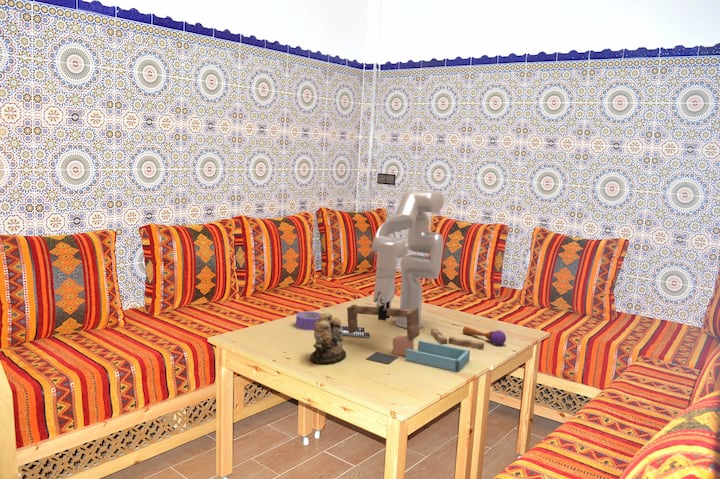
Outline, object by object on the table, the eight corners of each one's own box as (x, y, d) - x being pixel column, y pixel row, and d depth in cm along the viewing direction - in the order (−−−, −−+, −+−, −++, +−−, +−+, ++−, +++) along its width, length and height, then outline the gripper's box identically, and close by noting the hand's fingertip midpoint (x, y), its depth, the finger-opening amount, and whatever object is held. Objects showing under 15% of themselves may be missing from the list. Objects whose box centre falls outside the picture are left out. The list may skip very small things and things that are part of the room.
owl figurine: (331, 368, 201) (333, 321, 199) (301, 362, 206) (302, 316, 203) (352, 353, 218) (354, 309, 215) (324, 348, 222) (325, 305, 220)
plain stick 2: (448, 344, 235) (448, 338, 235) (449, 342, 237) (450, 336, 237) (482, 350, 229) (482, 344, 229) (483, 348, 232) (484, 342, 231)
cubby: (405, 360, 213) (406, 349, 213) (418, 350, 225) (419, 340, 224) (458, 372, 204) (459, 361, 204) (469, 360, 216) (470, 350, 215)
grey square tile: (365, 359, 212) (366, 358, 212) (376, 352, 220) (376, 351, 220) (388, 364, 208) (388, 363, 208) (398, 357, 216) (398, 356, 216)
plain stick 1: (446, 345, 234) (447, 339, 233) (441, 345, 233) (441, 339, 233) (436, 334, 247) (436, 328, 247) (430, 334, 247) (431, 328, 246)
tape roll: (323, 322, 255) (324, 311, 254) (322, 330, 243) (323, 319, 243) (296, 321, 254) (297, 310, 254) (294, 329, 243) (295, 318, 242)
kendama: (470, 323, 252) (509, 332, 237) (468, 337, 251) (507, 346, 237) (461, 323, 248) (501, 331, 233) (459, 337, 247) (499, 346, 233)
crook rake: (346, 334, 228) (345, 308, 227) (356, 328, 235) (354, 303, 234) (411, 340, 215) (410, 313, 214) (419, 334, 222) (418, 308, 221)
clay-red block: (392, 353, 219) (392, 338, 219) (399, 349, 225) (399, 334, 224) (407, 356, 217) (407, 340, 216) (413, 351, 222) (413, 336, 221)
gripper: (386, 267, 229) (383, 312, 233) (367, 275, 215) (365, 322, 218) (403, 270, 226) (400, 315, 229) (386, 278, 212) (383, 326, 215)
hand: (383, 318), depth 224 cm, fingers closed on crook rake, 2 cm apart
